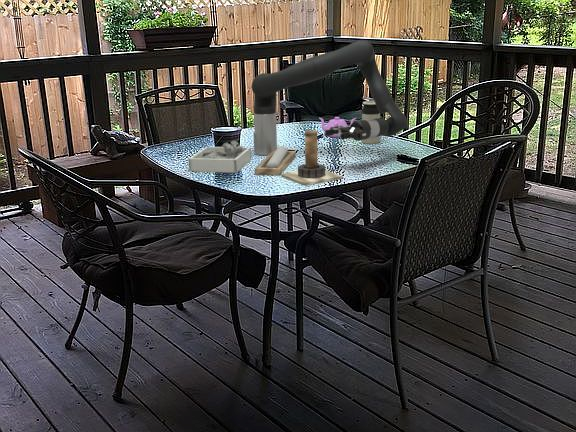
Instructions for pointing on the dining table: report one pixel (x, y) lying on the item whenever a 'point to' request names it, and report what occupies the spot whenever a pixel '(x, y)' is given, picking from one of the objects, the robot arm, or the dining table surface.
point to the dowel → (311, 149)
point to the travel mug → (370, 113)
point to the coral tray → (219, 161)
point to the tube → (277, 157)
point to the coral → (217, 154)
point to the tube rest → (279, 170)
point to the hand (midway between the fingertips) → (333, 134)
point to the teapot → (335, 124)
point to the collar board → (313, 180)
